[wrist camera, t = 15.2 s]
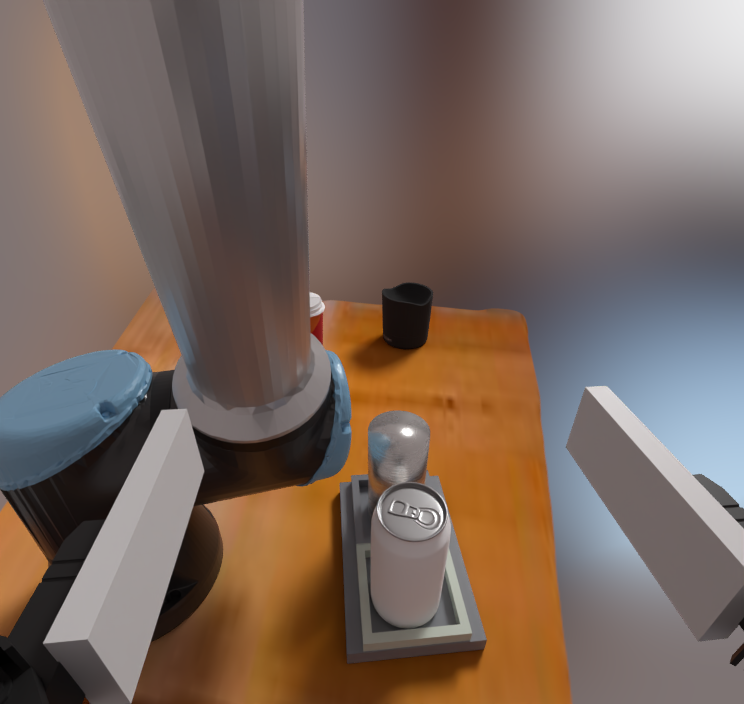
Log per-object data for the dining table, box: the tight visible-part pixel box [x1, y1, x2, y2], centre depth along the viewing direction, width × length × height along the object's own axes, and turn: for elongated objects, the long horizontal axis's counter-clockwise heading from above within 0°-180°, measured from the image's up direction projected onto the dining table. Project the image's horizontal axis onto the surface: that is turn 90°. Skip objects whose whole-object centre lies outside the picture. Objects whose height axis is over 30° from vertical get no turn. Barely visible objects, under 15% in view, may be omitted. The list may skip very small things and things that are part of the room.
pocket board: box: [340, 470, 487, 664], centre depth 44 cm, size 12×18×3 cm, turn 6°
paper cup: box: [310, 293, 325, 346], centre depth 70 cm, size 8×8×14 cm
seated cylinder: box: [368, 411, 430, 521], centre depth 45 cm, size 6×6×12 cm
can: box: [371, 482, 451, 629], centre depth 37 cm, size 6×6×12 cm
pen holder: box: [382, 283, 433, 349], centre depth 82 cm, size 9×9×10 cm
